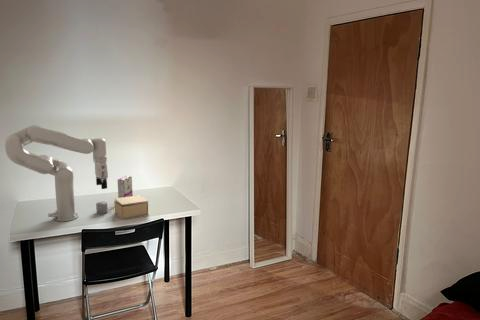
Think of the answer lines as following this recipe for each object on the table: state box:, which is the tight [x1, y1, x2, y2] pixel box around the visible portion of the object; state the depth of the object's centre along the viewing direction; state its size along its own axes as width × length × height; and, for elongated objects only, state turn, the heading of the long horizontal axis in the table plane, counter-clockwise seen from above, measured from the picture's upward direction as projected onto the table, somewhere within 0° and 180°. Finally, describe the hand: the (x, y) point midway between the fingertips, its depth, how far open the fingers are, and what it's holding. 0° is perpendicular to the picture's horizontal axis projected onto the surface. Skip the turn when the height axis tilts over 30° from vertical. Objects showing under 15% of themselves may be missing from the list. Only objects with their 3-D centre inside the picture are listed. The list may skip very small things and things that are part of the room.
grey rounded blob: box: [95, 201, 109, 215], centre depth 227 cm, size 6×6×6 cm
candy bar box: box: [116, 175, 134, 198], centre depth 249 cm, size 11×5×16 cm, turn 168°
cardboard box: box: [114, 200, 149, 221], centre depth 226 cm, size 16×13×8 cm
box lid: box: [114, 194, 149, 206], centre depth 225 cm, size 16×13×1 cm
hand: (101, 186), depth 225 cm, fingers open, 9 cm apart
